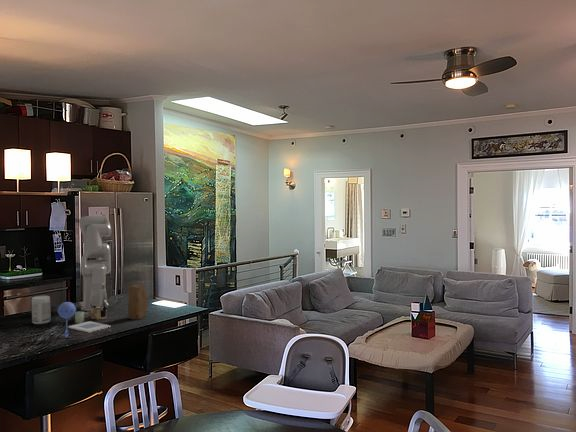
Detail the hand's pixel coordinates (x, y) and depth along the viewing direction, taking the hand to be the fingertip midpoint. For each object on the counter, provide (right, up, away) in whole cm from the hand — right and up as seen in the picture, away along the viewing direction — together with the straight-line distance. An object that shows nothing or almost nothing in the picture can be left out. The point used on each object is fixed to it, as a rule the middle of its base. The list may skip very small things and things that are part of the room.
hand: (98, 315), depth 291 cm
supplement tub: (-28, -1, -12) cm, 31 cm away
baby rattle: (-1, -3, -40) cm, 40 cm away
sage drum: (-7, -2, -11) cm, 13 cm away
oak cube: (0, -1, 0) cm, 1 cm away
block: (+23, -2, +1) cm, 23 cm away
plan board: (+3, -2, -22) cm, 22 cm away
